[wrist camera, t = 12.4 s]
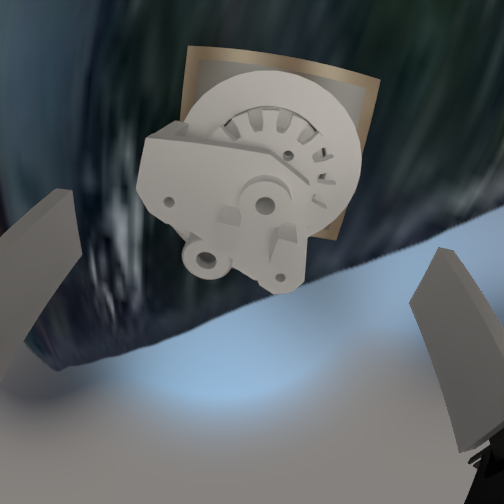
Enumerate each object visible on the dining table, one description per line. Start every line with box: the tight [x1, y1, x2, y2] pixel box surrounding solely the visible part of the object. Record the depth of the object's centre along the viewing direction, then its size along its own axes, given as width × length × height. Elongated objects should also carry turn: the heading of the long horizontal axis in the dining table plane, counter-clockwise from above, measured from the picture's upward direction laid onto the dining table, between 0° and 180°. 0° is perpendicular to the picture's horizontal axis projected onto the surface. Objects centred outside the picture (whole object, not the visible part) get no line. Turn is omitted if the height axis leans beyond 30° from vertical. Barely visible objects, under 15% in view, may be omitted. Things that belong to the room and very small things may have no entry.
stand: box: [180, 46, 380, 240], centre depth 23 cm, size 14×14×3 cm
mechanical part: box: [136, 71, 362, 294], centre depth 17 cm, size 11×12×12 cm
